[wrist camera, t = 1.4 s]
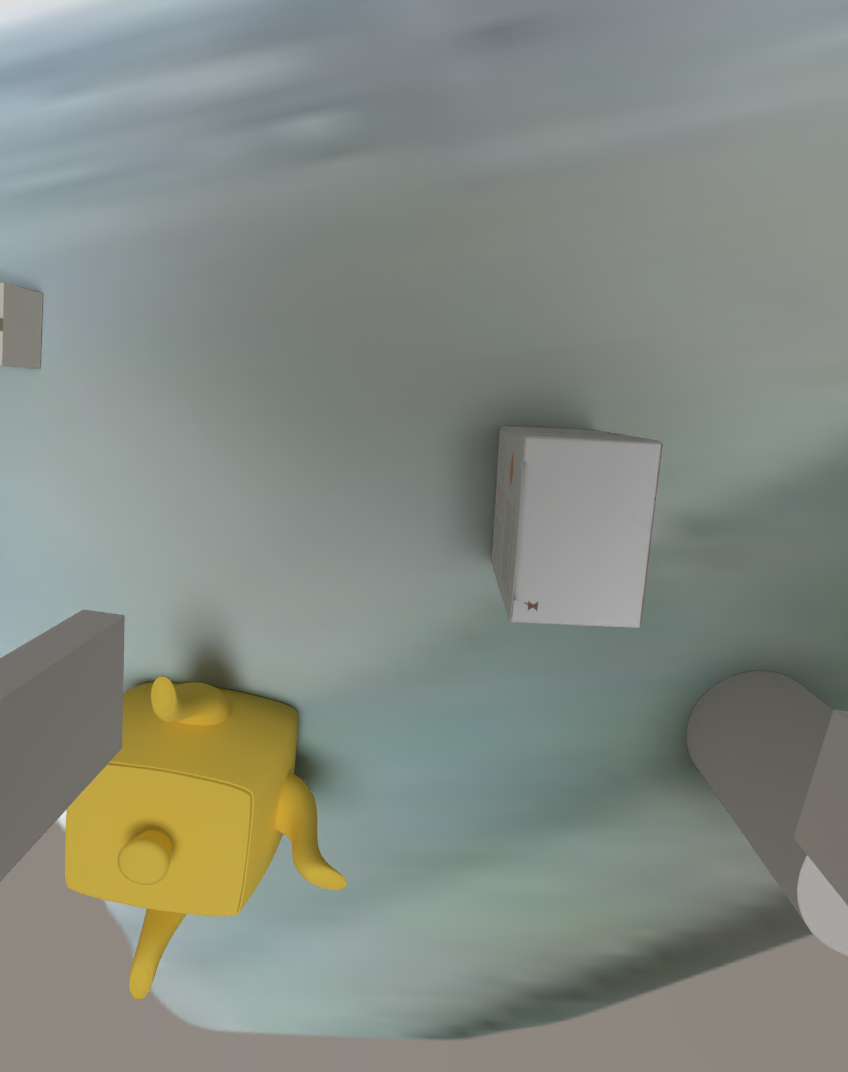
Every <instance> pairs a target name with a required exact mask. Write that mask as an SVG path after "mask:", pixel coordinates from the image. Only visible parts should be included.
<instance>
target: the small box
mask: <svg viewBox="0 0 848 1072" xmlns="http://www.w3.org/2000/svg"><path fill="white" fill-rule="evenodd" d="M662 445H663V444H662V443H661V442H660V441H656V440H651V439H644V438H638V437H633V436H628V435H623V434H615V433H609V432H603V431H596V430H584V429H568V428H543V427H506V426H502V427H500V429H499V450H498V466H497V482H496V498H495V515H494V531H493V546H492V558H491V561H492V565H493V569H494V572H495V575H496V579H497V582H498V586H499V589H500V592H501V595H502V598H503V601H504V604H505V608H506V611H507V614H508V617H509V621H510V622H517V623H542V624H564V625H587V626H607V627H634V628H639V627H640V626H641V619H642V610H643V603H644V594H645V585H646V577H647V568H648V560H649V551H650V543H651V534H652V526H653V517H654V509H655V500H656V492H657V484H658V476H659V468H660V459H661V451H662Z"/></svg>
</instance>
